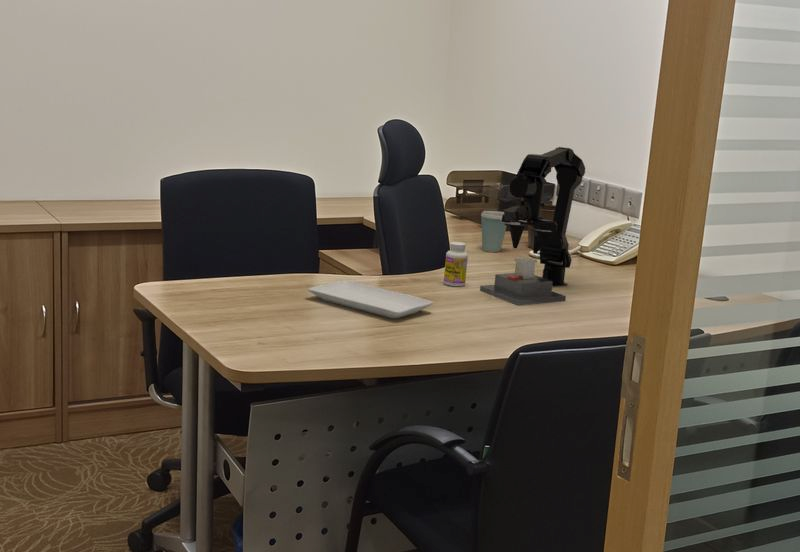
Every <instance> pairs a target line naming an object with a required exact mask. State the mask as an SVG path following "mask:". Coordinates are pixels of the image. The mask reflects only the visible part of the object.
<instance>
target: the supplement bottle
mask: <svg viewBox="0 0 800 552" xmlns="http://www.w3.org/2000/svg"><path fill="white" fill-rule="evenodd" d="M449 243H450V244H449V247H450V250H448V251H447V252H446V253H445V263H444V264H445V265H444V272H443V273H444V275H443V284H444V285H445V286H448V287H449V286H450V287H456V288H457V287H458V288H459V287H463V286H465V284H466V279H467V266H468V260H469V259H468V257H469V255H468V253H467V251H465V250H466V245H467V244H466V243H465V242H461V241H460V242H459V241H451V242H449Z"/></svg>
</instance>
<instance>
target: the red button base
mask: <svg viewBox="0 0 800 552" xmlns="http://www.w3.org/2000/svg"><path fill="white" fill-rule="evenodd" d="M552 284H553V281H551V280H548V279H545V278H542V276H539V275H535V274H534V279H530V280H521V279H519V277H516V276H515V272H512V273H497V274H495V278H494V284H488V285H487V284H486V285H480V286H479V291H480V292H482V293H485V294H487V295H489V296H492V297H496V298H499V299H501V300H504V301H505V302H509V303H511V304H513V305H516V306H525V305H537V304H538V305H539V304H546V303H558V302H566V299H567V298H566V295H564V294H562V293H558V292H555V291H553V286H552Z"/></svg>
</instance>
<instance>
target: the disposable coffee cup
mask: <svg viewBox="0 0 800 552" xmlns="http://www.w3.org/2000/svg"><path fill="white" fill-rule="evenodd" d="M503 214H504V211H496V210H495V211H494V210H483V211H482V212H481V214H480V216H481V217H480V218H481V246H482V247H481V248H482V250H483V251H485V252H490V253H499V252H500V251H501V250H502V246H503V243H504V238H505V235H506V231H507V229H508V227H507V226H506V225H504V223H506V222H502V215H503Z"/></svg>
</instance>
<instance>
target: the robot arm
mask: <svg viewBox="0 0 800 552" xmlns="http://www.w3.org/2000/svg"><path fill="white" fill-rule="evenodd" d="M553 168H554V170H555V172H556V174H555V179H556V181H557V184H558V191H557V192H558V193H557V196H556V197H557V198H556V202H555V211H554V216H553V221H551V220H542V218H543V217H540V211H541V206H542V207H544V204H545V203H544V202H543V196H544V194H543V193H544V190H545V189H544V188H545V185H546V184H547V182H548V181H547V180H546V178H547V176H548V175H549V174H550V173H551V172H552V169H553ZM585 175H586V166H585V164H584V161H583V160H582V159H581V157H579V156H578V155H577V154H576V153H575V151H574V150H573V149H572V148H571V147H570V148H569V147H563V146H558V147H555V148H554V149H553V150H550V151H548V152H544V153H542V154H535V153H533V154H531V153H529V154H526V156H525V158H524V159H523V161H522V162H521V165H520V167H519V169H518V171H517V173H516V177H515V178H513V179H512V180H511V181H510V184H509V193H510V194H511V196H513V197H514V198H518V199H519V198H521V199H519V200H518V201H517V205H514V206H511V207H509V208H508V207H507V208H506V209H503V212H504V214H503V215H502V222H506V223H504V225H506V226H507V229H508V231H509V232H510V236H511V237H510V238H511V242H512V248H513V249H517V248H518V247H519V245H520V240H521V238H522V234H523V231H524V229H525V225H527V226H528V225H532V226H533V227H534V229H537V230H532V232H533V233H534V246H533V249H532V250H533V254H538V252H539V263H540V265H543V266H544V267H543V269H542V276H541V277H542V278H545V279H548V280H551V281H553V284H552V287H560V286H567V285H568V283H566V282H565V275H566V269H569V268H571V267H570V266H571V264H572V260H573V259H572V258H571V253H570V252H569V242H568V239H567V236H566V233H567V229H568V223H569V219H570V213H571V209H572V204H573V199H574V193H575V191H576V190H577V188H578V187H579V186H580V184H581V183H582V180H583V178H584V176H585ZM545 205H546V204H545ZM539 249H540V250H539Z"/></svg>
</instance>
